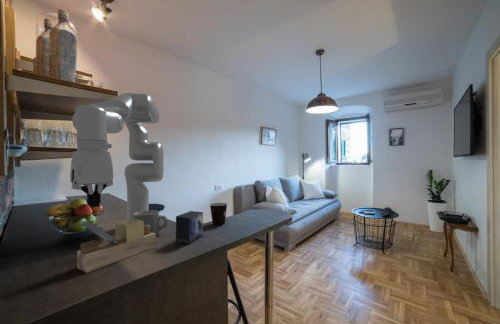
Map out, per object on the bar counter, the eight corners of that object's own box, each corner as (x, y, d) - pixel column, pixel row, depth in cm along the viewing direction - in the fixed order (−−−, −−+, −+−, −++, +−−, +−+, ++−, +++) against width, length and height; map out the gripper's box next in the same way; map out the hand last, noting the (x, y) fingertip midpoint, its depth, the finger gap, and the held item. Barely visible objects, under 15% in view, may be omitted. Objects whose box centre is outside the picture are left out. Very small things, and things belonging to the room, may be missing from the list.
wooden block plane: (77, 267, 64) (77, 241, 64) (146, 244, 83) (146, 223, 83) (86, 273, 61) (85, 244, 61) (156, 247, 80) (155, 225, 80)
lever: (109, 242, 71) (80, 224, 64) (112, 238, 72) (84, 220, 65) (116, 245, 68) (87, 226, 62) (119, 241, 69) (91, 222, 63)
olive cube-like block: (115, 239, 74) (115, 222, 74) (132, 234, 79) (132, 218, 79) (126, 243, 70) (126, 225, 70) (144, 237, 75) (143, 220, 75)
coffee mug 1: (129, 240, 87) (129, 215, 87) (138, 232, 97) (138, 210, 97) (163, 238, 89) (163, 214, 89) (169, 231, 99) (169, 209, 99)
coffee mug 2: (219, 220, 116) (219, 202, 116) (230, 223, 110) (230, 203, 110) (202, 225, 107) (201, 205, 107) (213, 228, 101) (213, 207, 101)
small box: (189, 245, 81) (188, 217, 81) (175, 243, 83) (174, 216, 83) (204, 236, 91) (203, 211, 91) (190, 234, 93) (190, 210, 93)
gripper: (112, 148, 74) (113, 201, 74) (56, 146, 61) (58, 210, 62) (124, 147, 70) (125, 203, 70) (66, 145, 57) (68, 213, 58)
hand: (94, 206), depth 66 cm, fingers closed
